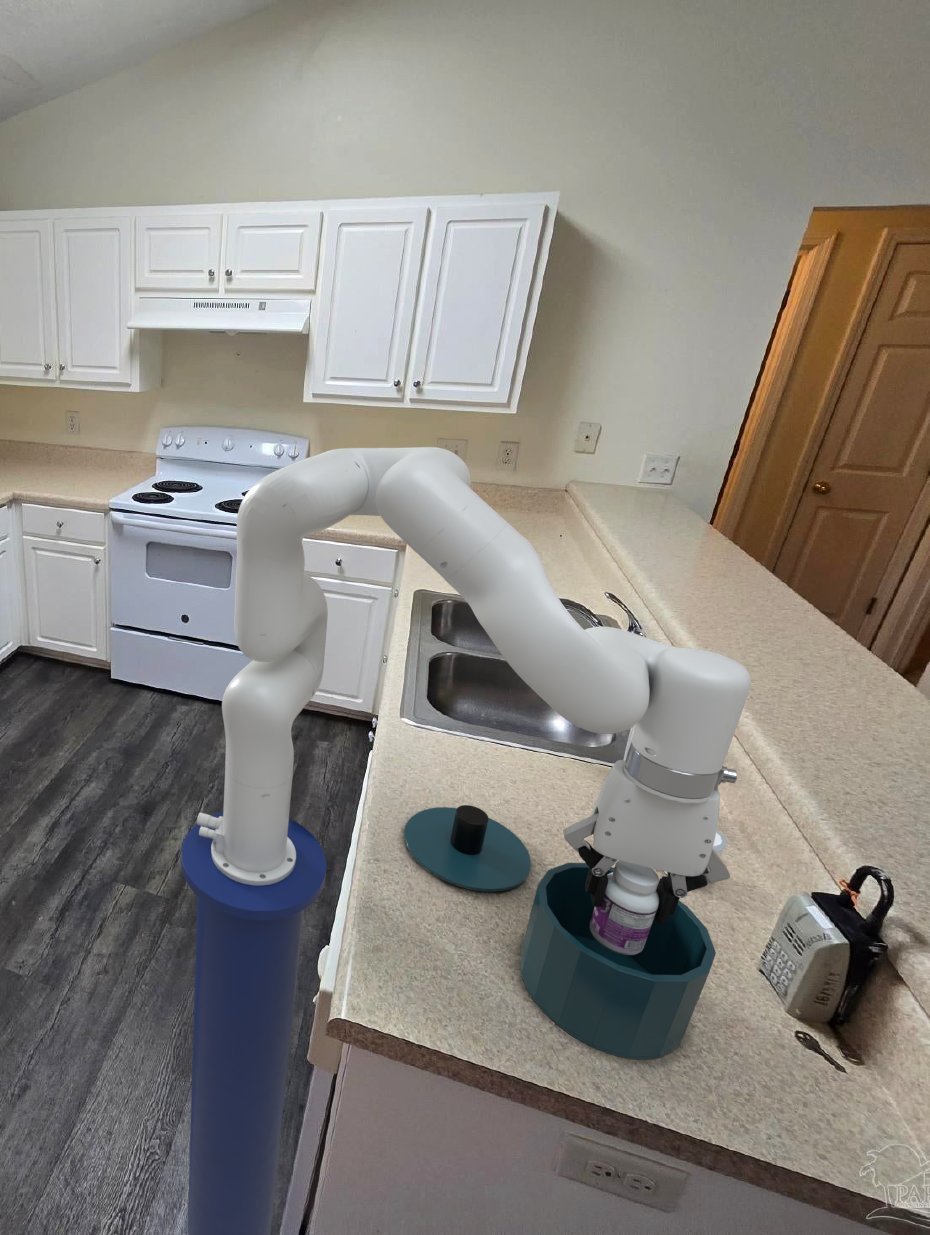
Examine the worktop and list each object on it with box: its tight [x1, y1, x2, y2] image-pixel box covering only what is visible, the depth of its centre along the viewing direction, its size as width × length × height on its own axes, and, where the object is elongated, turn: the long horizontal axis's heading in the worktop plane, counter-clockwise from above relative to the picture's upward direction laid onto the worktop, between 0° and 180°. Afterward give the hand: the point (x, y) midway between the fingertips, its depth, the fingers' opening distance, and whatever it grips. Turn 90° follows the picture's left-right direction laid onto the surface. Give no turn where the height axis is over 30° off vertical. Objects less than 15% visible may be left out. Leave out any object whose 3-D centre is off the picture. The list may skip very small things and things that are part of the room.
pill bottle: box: [590, 860, 660, 955], centre depth 77 cm, size 5×5×10 cm
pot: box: [519, 862, 717, 1061], centre depth 79 cm, size 17×17×12 cm
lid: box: [403, 804, 532, 893], centre depth 102 cm, size 17×17×7 cm
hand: (626, 905), depth 76 cm, fingers closed on pill bottle, 5 cm apart
